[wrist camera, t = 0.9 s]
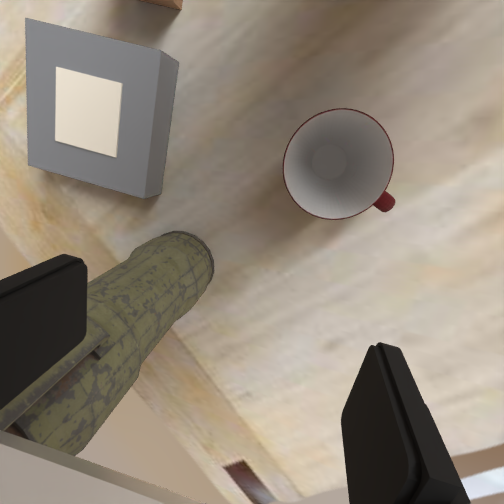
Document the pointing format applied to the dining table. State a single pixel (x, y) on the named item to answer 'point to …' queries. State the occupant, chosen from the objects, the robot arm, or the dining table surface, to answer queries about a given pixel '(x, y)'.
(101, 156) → the slate pedestal
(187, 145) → the dining table surface
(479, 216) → the dining table surface
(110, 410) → the thermos
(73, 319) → the robot arm
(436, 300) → the dining table surface
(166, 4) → the walnut block
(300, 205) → the mug
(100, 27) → the dining table surface
